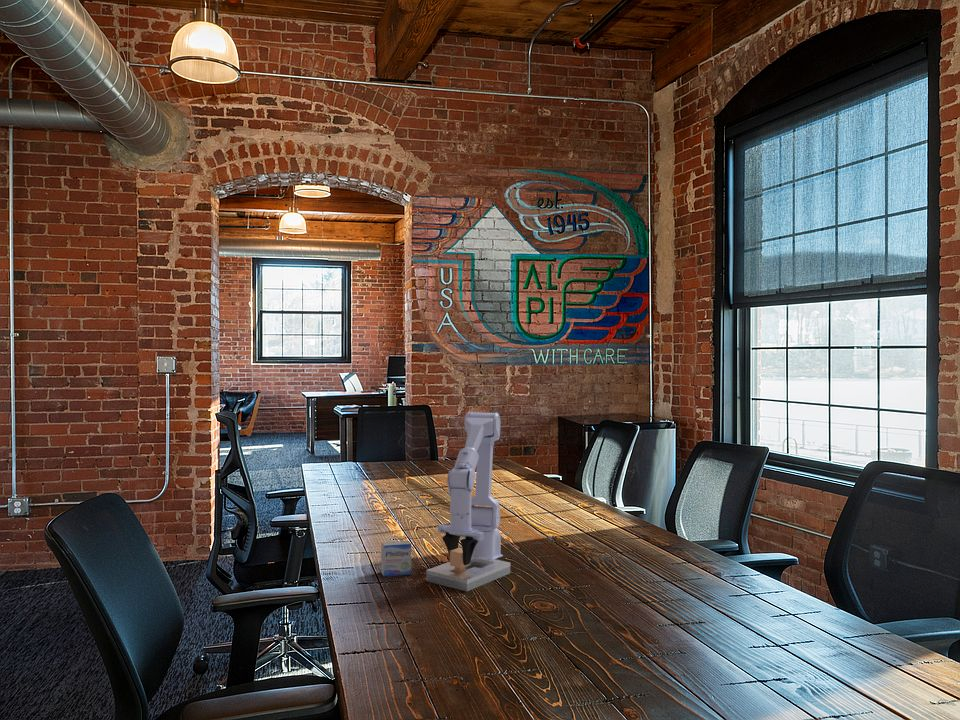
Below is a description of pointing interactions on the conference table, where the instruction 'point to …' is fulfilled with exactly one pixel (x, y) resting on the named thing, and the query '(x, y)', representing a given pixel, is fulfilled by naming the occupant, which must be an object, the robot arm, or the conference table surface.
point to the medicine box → (396, 558)
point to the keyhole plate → (469, 573)
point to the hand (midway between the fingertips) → (460, 562)
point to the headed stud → (457, 560)
